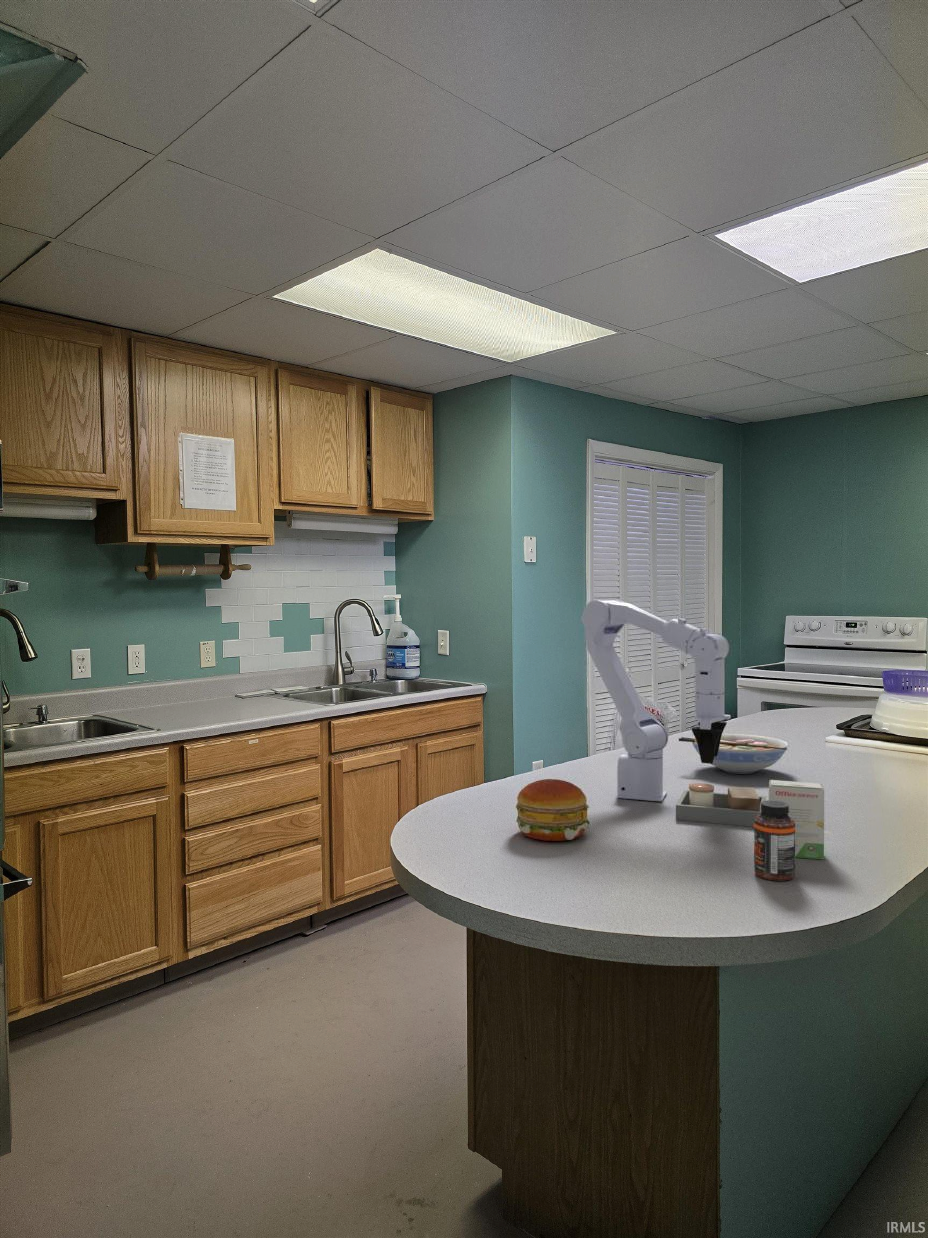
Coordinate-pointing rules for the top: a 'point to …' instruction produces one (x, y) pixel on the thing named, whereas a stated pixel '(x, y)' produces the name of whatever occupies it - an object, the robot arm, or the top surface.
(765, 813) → the supplement bottle
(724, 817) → the tote
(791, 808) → the ink box
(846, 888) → the top surface
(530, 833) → the burger
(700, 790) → the jar
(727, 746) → the ramen bowl
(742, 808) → the block
